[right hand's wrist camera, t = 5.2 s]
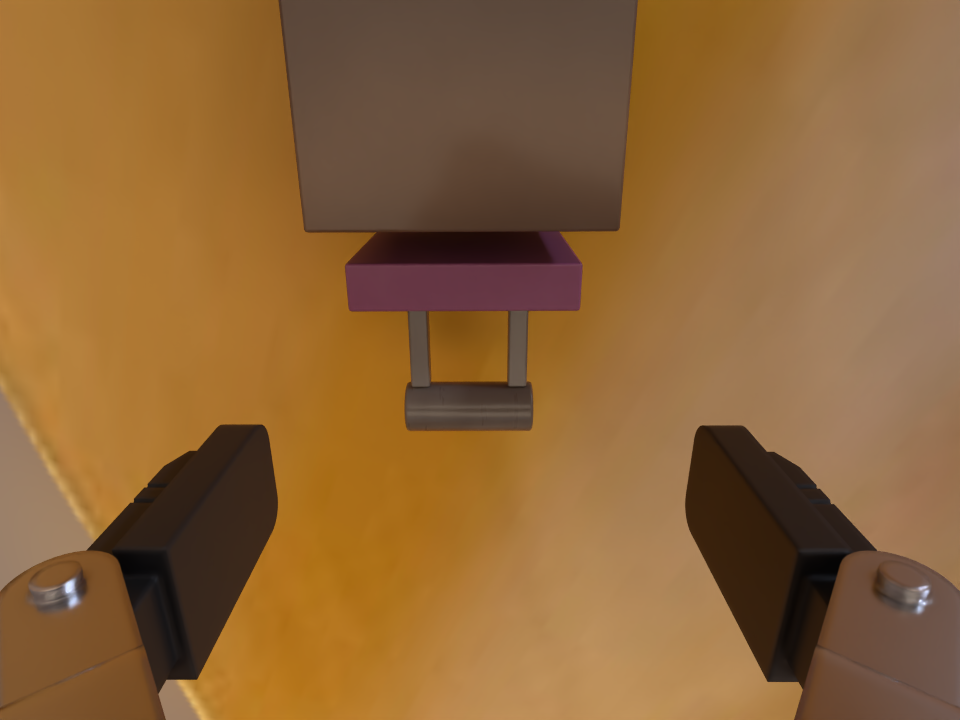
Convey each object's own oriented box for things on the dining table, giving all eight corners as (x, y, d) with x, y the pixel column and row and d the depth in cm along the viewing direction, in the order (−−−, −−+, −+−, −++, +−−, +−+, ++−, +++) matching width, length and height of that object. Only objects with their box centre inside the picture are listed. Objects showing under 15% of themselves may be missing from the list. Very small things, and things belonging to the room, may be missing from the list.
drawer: (543, 380, 24) (569, 491, 17) (400, 381, 24) (364, 491, 17) (573, -445, 15) (654, -944, 8) (351, -443, 15) (236, -938, 8)
